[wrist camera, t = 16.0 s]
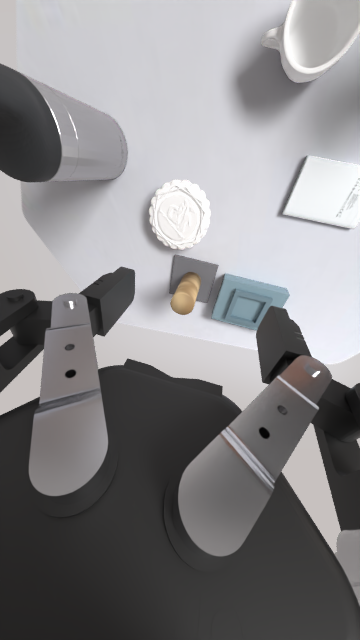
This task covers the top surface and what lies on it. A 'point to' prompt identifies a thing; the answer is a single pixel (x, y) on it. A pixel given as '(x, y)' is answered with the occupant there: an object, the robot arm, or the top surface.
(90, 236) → the top surface
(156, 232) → the mooncake
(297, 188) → the external hard drive
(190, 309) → the oak stopper
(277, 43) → the teacup
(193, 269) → the grey rubber coaster
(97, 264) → the top surface
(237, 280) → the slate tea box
